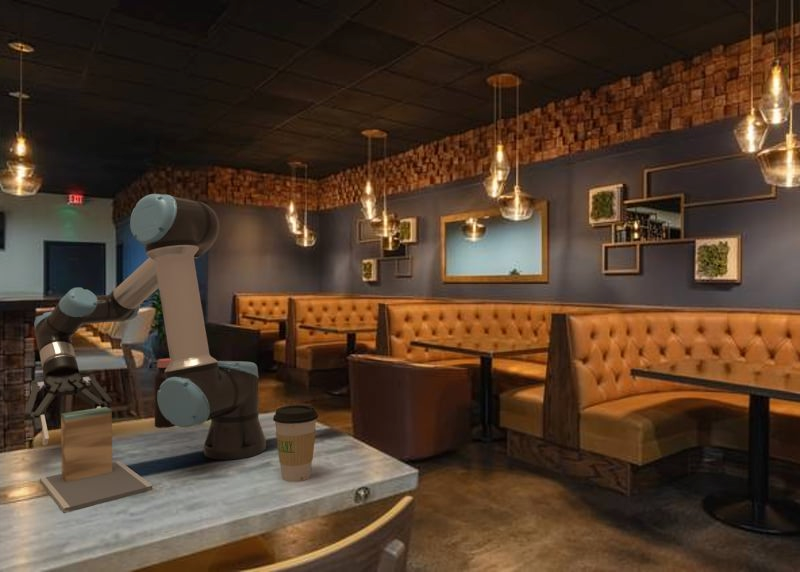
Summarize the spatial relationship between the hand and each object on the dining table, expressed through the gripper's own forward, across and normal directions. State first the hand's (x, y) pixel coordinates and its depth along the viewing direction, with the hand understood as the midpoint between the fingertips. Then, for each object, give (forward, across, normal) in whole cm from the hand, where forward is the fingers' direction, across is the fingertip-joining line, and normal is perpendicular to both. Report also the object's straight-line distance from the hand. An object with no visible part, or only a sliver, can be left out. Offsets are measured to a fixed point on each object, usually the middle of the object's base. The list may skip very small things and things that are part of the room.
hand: (75, 436), depth 125 cm
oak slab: (+12, 0, +2) cm, 12 cm away
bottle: (-11, -30, -22) cm, 39 cm away
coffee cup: (+35, -33, +25) cm, 54 cm away
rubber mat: (+17, 0, +6) cm, 18 cm away
